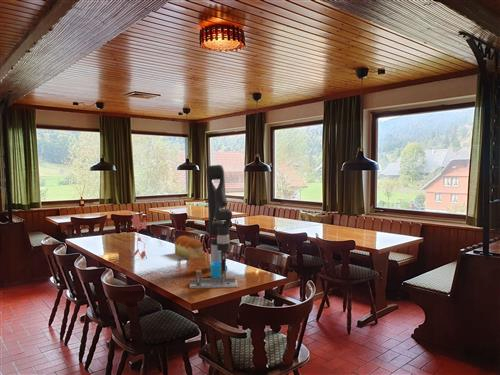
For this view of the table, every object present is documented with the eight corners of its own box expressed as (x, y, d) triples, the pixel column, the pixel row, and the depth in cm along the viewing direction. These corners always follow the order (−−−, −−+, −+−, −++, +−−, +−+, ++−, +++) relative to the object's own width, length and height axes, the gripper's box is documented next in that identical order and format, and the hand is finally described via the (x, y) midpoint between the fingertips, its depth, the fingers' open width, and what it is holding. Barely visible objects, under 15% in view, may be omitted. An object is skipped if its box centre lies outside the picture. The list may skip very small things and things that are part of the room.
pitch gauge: (190, 283, 230) (190, 270, 230) (236, 282, 233) (236, 269, 233) (189, 288, 220) (189, 274, 220) (237, 287, 223) (237, 273, 223)
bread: (203, 257, 298) (203, 239, 297) (188, 260, 290) (188, 240, 290) (188, 252, 318) (188, 234, 317) (174, 254, 310) (174, 236, 310)
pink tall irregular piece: (136, 254, 308) (135, 211, 305) (153, 259, 289) (152, 214, 287) (118, 257, 297) (117, 213, 295) (134, 263, 279) (133, 216, 276)
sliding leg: (220, 278, 232) (220, 262, 232) (225, 278, 232) (225, 262, 232) (221, 282, 224) (221, 265, 224) (226, 282, 225) (226, 265, 224)
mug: (215, 278, 240) (215, 266, 240) (208, 275, 247) (208, 263, 246) (230, 275, 247) (230, 263, 247) (223, 272, 254) (223, 260, 254)
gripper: (217, 239, 236) (217, 267, 237) (217, 244, 222) (217, 273, 223) (229, 239, 237) (229, 267, 237) (230, 244, 223) (230, 273, 223)
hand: (223, 270), depth 230 cm, fingers closed on sliding leg, 3 cm apart
